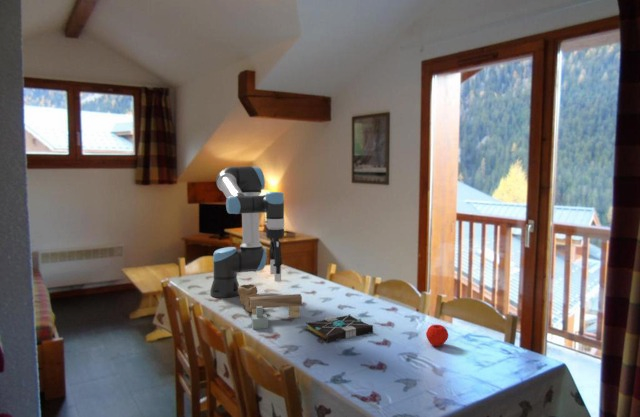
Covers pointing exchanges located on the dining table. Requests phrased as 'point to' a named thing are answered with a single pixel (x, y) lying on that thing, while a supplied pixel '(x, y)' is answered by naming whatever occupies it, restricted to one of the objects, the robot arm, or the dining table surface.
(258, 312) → the block
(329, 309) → the dining table surface
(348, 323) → the book
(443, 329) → the apple
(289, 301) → the rod
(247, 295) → the pipe
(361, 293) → the dining table surface
